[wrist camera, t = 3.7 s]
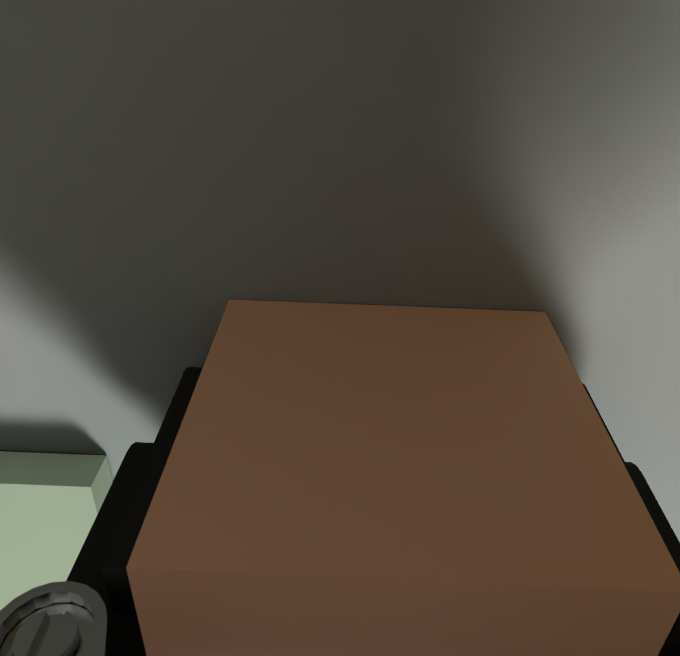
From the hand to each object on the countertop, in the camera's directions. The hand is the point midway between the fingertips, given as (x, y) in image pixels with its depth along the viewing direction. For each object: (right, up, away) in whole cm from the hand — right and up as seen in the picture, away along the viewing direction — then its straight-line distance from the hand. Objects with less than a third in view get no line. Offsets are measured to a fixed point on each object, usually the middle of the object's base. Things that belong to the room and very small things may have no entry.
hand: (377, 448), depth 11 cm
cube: (0, 0, 0) cm, 1 cm away
